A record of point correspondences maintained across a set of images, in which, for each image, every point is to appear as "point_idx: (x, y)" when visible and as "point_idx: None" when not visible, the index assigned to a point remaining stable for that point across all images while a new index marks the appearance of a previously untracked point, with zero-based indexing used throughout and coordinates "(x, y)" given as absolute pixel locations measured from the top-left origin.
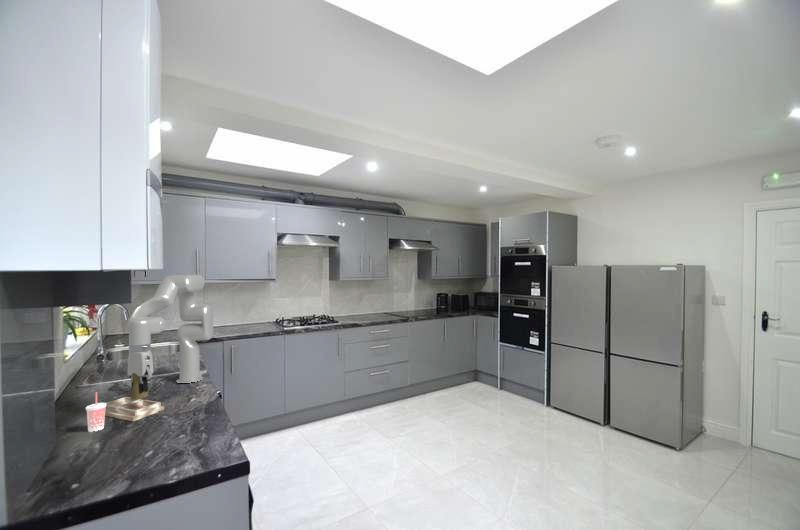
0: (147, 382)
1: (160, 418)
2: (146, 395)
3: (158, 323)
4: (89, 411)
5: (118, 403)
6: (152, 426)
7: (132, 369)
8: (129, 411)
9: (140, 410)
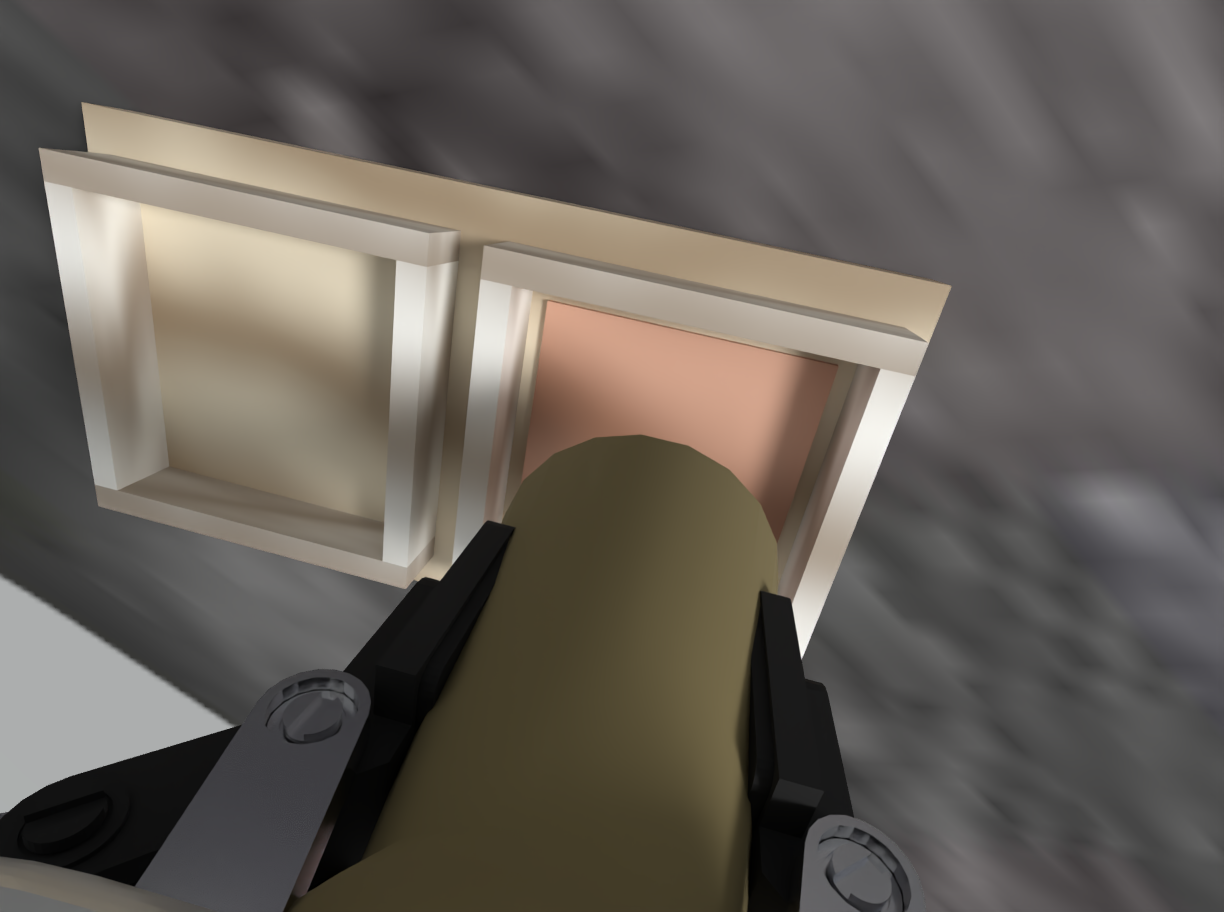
0: (817, 782)
1: (1091, 569)
2: (776, 569)
3: None
4: None
5: (142, 290)
6: (1138, 759)
7: None
8: None
9: (808, 623)
